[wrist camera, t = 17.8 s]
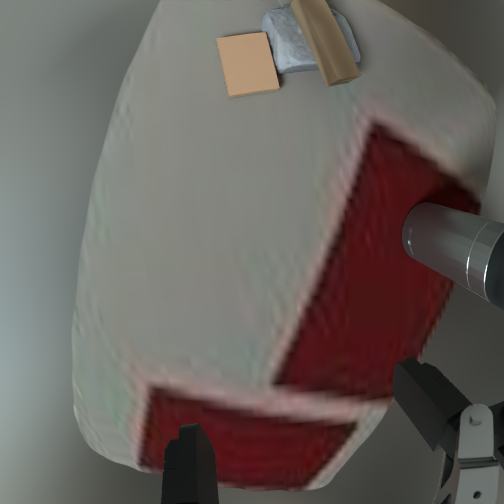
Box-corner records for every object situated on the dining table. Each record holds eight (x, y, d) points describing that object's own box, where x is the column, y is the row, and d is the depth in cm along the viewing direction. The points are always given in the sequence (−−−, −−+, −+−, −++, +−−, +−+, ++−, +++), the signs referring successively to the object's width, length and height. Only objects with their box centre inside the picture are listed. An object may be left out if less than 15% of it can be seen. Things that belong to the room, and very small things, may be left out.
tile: (276, 91, 32) (263, 37, 30) (279, 88, 30) (265, 32, 28) (228, 99, 32) (216, 43, 29) (229, 95, 30) (216, 38, 28)
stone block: (252, 25, 31) (275, 81, 32) (256, 4, 26) (283, 62, 27) (329, 20, 32) (356, 72, 33) (340, 2, 27) (371, 57, 28)
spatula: (299, -28, 24) (306, -42, 21) (354, 81, 30) (367, 74, 26) (264, -25, 24) (269, -39, 21) (318, 88, 29) (330, 81, 26)
